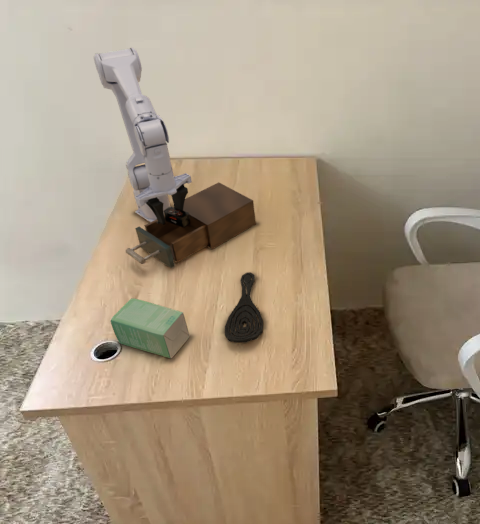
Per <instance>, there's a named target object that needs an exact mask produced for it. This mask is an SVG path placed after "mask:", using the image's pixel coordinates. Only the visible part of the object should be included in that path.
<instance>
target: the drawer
mask: <svg viewBox="0 0 480 524" xmlns="http://www.w3.org/2000/svg"><path fill="white" fill-rule="evenodd" d="M164 217H165V216H164ZM189 217H190V216H189ZM157 221H158V220H157V219H156V220H154V221H152V222H148V223H146V224H144V228H143V227H141V226H137V227H135V228H134V229H135V232H136V237H137V240H138V243H139V244H137V245H135V246H133V247H131V248H130V247H127V248H126V249H125V254H127V255H128V256H130V257H131V258H132V259H134V260H135V261H137V262H138V263H139V264H141V265H145V263H146V261H148V260H150V259H151V258H153V257H154V258H155V259H157V261H159V262H160V263H162V264H164V265H165V266H167V267H168V268H169V269H173V268H174V267H175V263H179V262H181V261H182V260H185V259H186V258H189V257H190V256H192V255H194V254H195V253H197V252H200V250H202V249H204V248H205V247H207V245H209V244H210V242H209V237H208V232H207V226H205V225H204V224H202V223H200V222H199V221H197V220H195V219H194V218H192V217H190V224H189V225H188V226H186V227H185V228H182V227H180V226H177V225H174V224H171V223H168V222H166V221H165V223H166V224H165V225H162V224H161V223H159V224H157ZM138 249H142V250H144V251H145V252H146V253H148V255H146V256H145V257H143V256H142V255H140V254H139V253H137V252H136V251H137V250H138Z"/></svg>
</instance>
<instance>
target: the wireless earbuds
mask: <svg viewBox="0 0 480 524" xmlns="http://www.w3.org/2000/svg"><path fill="white" fill-rule="evenodd" d="M163 212H164V216H165V221H166V222H168V223H171V224H174V225H177V226H180V227H182V228H185V227H186V226H188V225H189V224H190V217H189V213H188V212H186V211H183V210H180V209H177V208H174V206H171V207H168V208H167V209H165V210H164V211H163ZM159 223H160V222H158V221H157V224H159ZM161 224H162V223H161ZM165 224H166V223H165ZM165 224H162V225H165Z"/></svg>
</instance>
